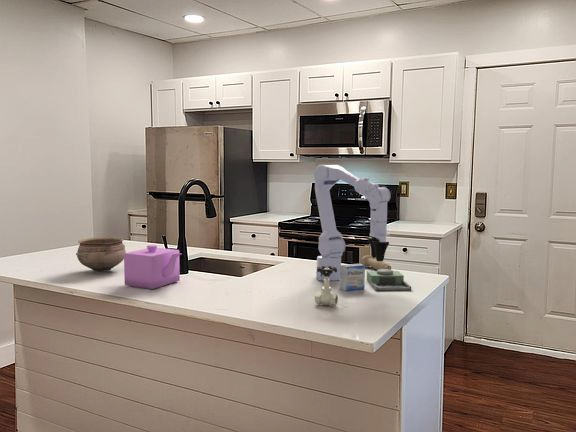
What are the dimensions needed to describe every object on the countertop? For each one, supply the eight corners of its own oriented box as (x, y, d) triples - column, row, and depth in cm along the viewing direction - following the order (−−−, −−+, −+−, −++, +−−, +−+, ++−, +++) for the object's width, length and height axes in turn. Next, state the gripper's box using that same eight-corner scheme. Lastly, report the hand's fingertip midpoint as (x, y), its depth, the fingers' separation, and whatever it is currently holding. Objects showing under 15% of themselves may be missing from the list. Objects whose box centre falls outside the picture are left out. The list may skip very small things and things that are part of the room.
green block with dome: (371, 285, 188) (371, 273, 187) (366, 280, 196) (366, 268, 195) (403, 285, 189) (403, 273, 188) (397, 280, 197) (397, 268, 196)
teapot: (168, 291, 177) (167, 251, 176) (114, 283, 188) (113, 245, 187) (195, 282, 191) (194, 245, 189) (143, 275, 202) (142, 240, 200)
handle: (395, 262, 210) (372, 254, 223) (382, 264, 207) (360, 256, 220) (394, 273, 211) (372, 265, 224) (382, 275, 208) (360, 267, 221)
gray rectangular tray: (375, 291, 179) (375, 286, 179) (370, 285, 188) (370, 281, 188) (411, 290, 180) (411, 286, 180) (404, 285, 188) (404, 281, 188)
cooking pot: (107, 262, 227) (107, 235, 226) (140, 266, 219) (140, 238, 218) (60, 273, 205) (59, 242, 204) (95, 277, 197) (94, 246, 195)
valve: (320, 301, 165) (320, 265, 164) (339, 304, 163) (340, 266, 162) (312, 306, 159) (313, 269, 158) (332, 309, 157) (333, 270, 156)
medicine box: (345, 291, 179) (346, 266, 178) (339, 288, 183) (339, 264, 182) (364, 289, 182) (365, 265, 181) (358, 286, 186) (358, 262, 185)
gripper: (394, 223, 174) (394, 263, 175) (385, 219, 188) (384, 255, 190) (374, 223, 174) (373, 263, 175) (365, 219, 188) (365, 255, 189)
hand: (377, 259), depth 182 cm, fingers open, 6 cm apart
